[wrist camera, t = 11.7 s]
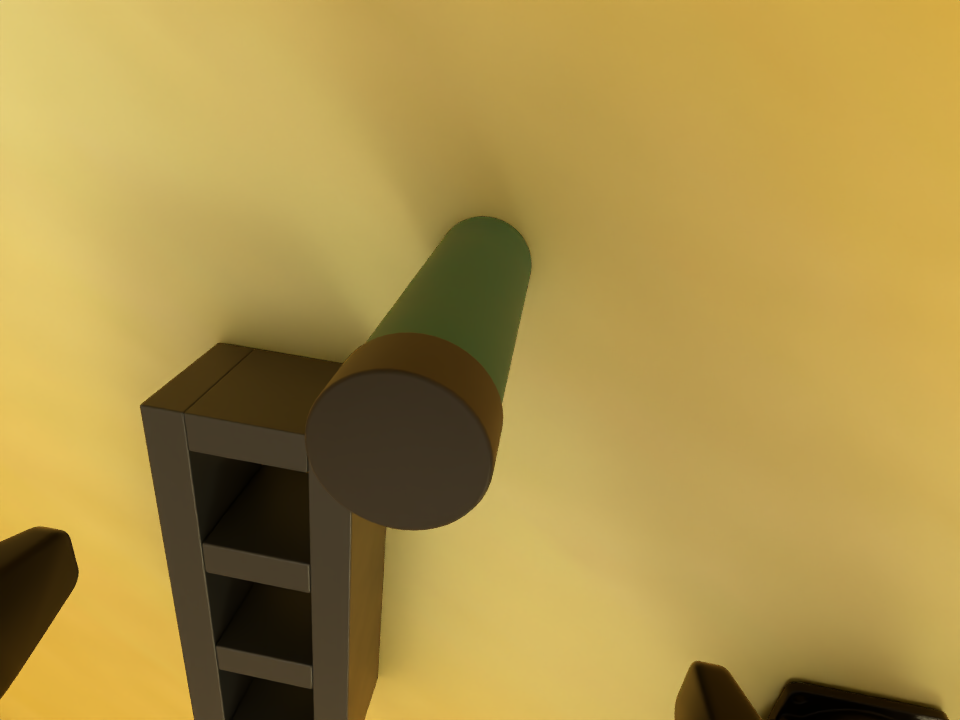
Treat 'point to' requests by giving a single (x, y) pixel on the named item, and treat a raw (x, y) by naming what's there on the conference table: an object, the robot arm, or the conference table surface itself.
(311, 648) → the organiser
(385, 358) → the capped tube
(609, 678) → the conference table surface
